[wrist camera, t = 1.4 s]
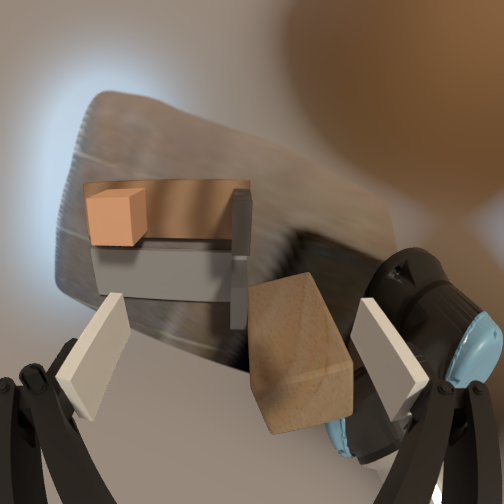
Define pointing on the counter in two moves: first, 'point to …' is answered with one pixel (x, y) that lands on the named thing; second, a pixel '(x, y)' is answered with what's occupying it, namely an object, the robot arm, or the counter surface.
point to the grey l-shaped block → (175, 276)
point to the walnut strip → (192, 208)
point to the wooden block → (296, 356)
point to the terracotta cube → (117, 217)
